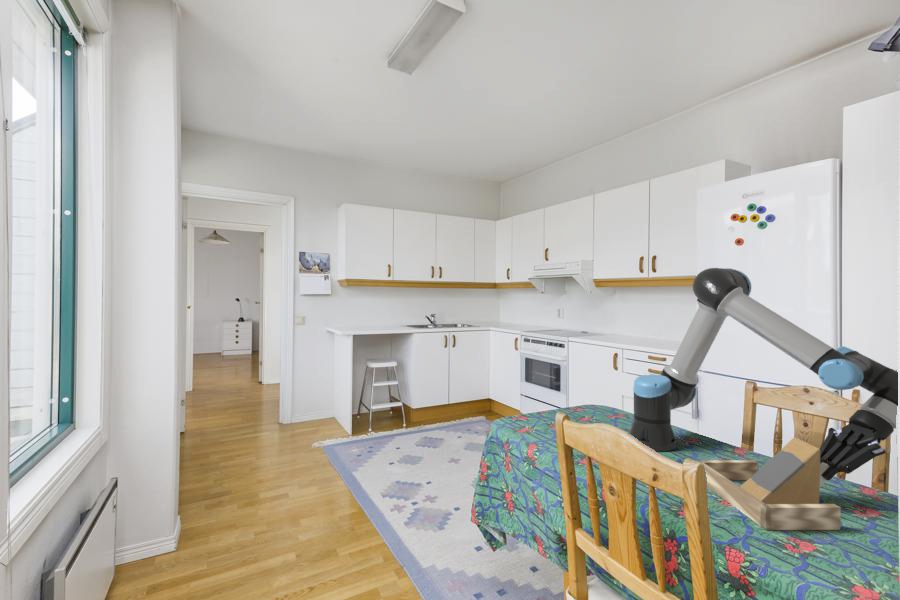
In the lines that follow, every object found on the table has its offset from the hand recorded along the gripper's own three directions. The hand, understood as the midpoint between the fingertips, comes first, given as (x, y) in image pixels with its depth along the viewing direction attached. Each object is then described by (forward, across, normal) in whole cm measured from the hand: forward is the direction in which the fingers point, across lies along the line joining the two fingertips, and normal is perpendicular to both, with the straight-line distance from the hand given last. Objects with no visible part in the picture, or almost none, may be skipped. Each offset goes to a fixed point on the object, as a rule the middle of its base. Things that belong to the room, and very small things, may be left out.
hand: (810, 485), depth 105 cm
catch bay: (+12, 0, +6) cm, 14 cm away
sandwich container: (+9, +2, +2) cm, 9 cm away
